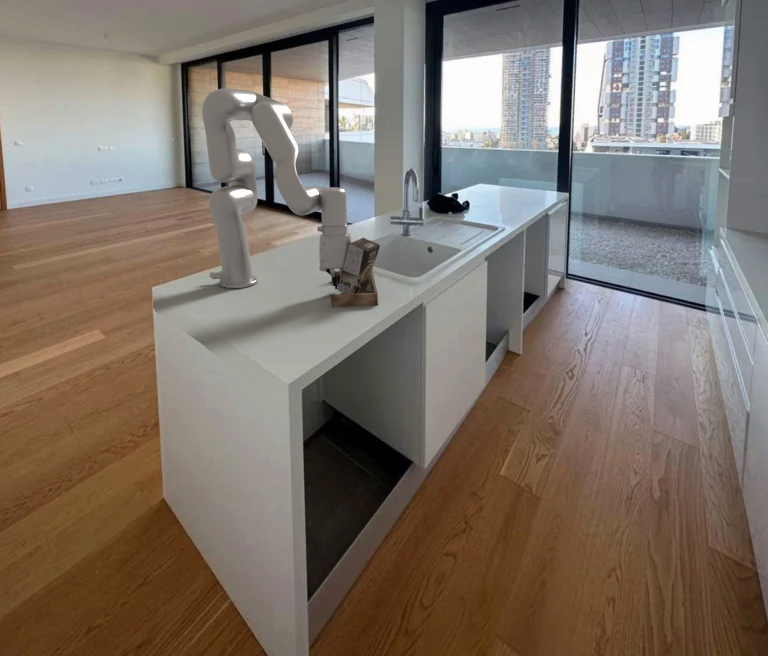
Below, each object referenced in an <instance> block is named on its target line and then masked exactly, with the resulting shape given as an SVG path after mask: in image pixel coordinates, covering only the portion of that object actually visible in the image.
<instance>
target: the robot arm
mask: <svg viewBox="0 0 768 656" xmlns="http://www.w3.org/2000/svg"><path fill="white" fill-rule="evenodd" d="M201 107H202V108H201V117H202V121H203V126H204V132H205V138H206V148H207V157H208V165H209V172H210V175H211V177H212V178H213V179H214V180H215V181H216V182H218V183H230V185H228V186H223V187H219V188H217V189H215V190H214V191H213V192H211V194H210V195H209V198H208V207H209V211H210V213H211V216H212V219H213V223H214V227H215V231H216V238H217V244H218V251H219V257H220V259H219V260H220V265H221V270H220V271H217V272H216V271H210V272H209V278H210V279H212V280H217V279H218V280H219V281H218V283H219V285H218V286H220V287H221V286H222V287H221V288H224V287H225V289H242V288H243V289H244V288H247V287H251V286H254V285H256V284H257V283H258V280H259V279H258V277H257V276H256V275H253V272H252V262H251V253H250V247H249V246H250V244H249V238H248V230H247V227H246V224H245V222H244V220H243V218H242V216H241V215H245V214H249V213H250V212H252V211H253V210H255V208H256V206H257V205H258V187H257V186H258V185H257V172H256V166H255V162H254V160H253V158H252V156H251V155H250V154H249V153H248V152H247V151H246V150H244V149H240V148H237V143H236V142H237V139H236V134H235V132H234V128H233V127H232V125H231V122H233V121H250V122H251V123H252V124H253V126H254V128H255V130H256V132H257V134H258V136H259V138H260V139H261V141H262V142H263V145H264V146H265V148H266V150H267V152H268V154H269V156H270V158H271V160H272V161H273V171H274V177H275V182H276V186H277V189H278V191H279V193H280V195H281V196H282V199H283V200H284V202H285V203H286V205H287V207H288V208H289V209H290V211H292V212H293V213H294V214H296V215H297V216H306V215H309V214H312V213H314V212H318V211H320V213H321V226H317V232H321V233H322V234H320V235H319V236H320V237H319V241H318V242H319V245H318V246H319V248H318V253H319V254H318V255H319V256H318V257H319V271H320V272H326V273H327V274H328V275H329V276H331V282H332V281H333V282H332V287H334V290H335V291H336V290H337V289H338V285H339V282H340V278H341V274H342V271H343V267H344V264H345V260H346V256H347V253H348V249H349V246H350V243H352V242H353V241H352V238H351V235H350V233H348V211H347V210H348V209H347V206H348V205H347V193H346V192H347V191H346V190H345V189H344V188H341V187H332V186H331V187H324V186H320V185H308V186H305V187H304V185H303V183H302V181H301V180H300V178H299V175H298V173H297V168H296V162H297V158H298V156H299V154H300V147H299V145H298V143H297V142H296V139H295V138H294V136H293V134H292V132H291V130H290V129H291V127H292V126H293V123H294V116H293V113H292V111H291V109H290V107H288V106H287V104H285V103H283V102H281V101H278V100H277V99H273V98H270V97H268V96H265V95H263V94H260V93H258V92H255V91H252V90H248V89H237V88H229V87H228V88H226V87H225V88H219V89H215V90H213V91H212V92H210V93H209V94H208V95H206V97H205V99H204V101H203V103H202V106H201ZM336 269H338V271H339V273H338V275H336V273H335V271H336ZM337 281H338V282H337ZM337 291H338V290H337Z"/></svg>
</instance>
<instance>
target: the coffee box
mask: <svg viewBox="0 0 768 656" xmlns="http://www.w3.org/2000/svg"><path fill="white" fill-rule="evenodd" d="M351 242H352V243H350V246H349V249H348V253H347V256H346V260H345V264H344V267H343V271H342V274H341V278H340V282H339V285H338V284H337V291H338V292H340V293H341V294H363V293H364V292H366V291H367V290H368V287H369V284H370V277H371V274H372V272H373V270H374V267H375V263H376V261H377V257H378V254H379V250H380V247H381V244H379V243H378V242H375V241H373V240H369V239H367V238H365V237H361V238H359V239H357V240H355V241H351Z"/></svg>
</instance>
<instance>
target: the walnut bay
mask: <svg viewBox="0 0 768 656" xmlns="http://www.w3.org/2000/svg"><path fill="white" fill-rule="evenodd" d="M335 273H336V275H338V273H339V270H335ZM331 282H332V283H333V281H332V280H331ZM337 283H338V281H337ZM369 283H370V286H371V291H372V292H370V293H367V292H366V293H364V292H363V293H361V294H344V293H340V294H330V295H329V297H330V308H340V307H341V308H342V307H345V308H346V307H362V306H363V305H367V306H378V305H379V297H378V290H377V286H376V281H375V277H374V272H373V271H372V274H371V277H370V281H369ZM363 307H364V306H363Z"/></svg>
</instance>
